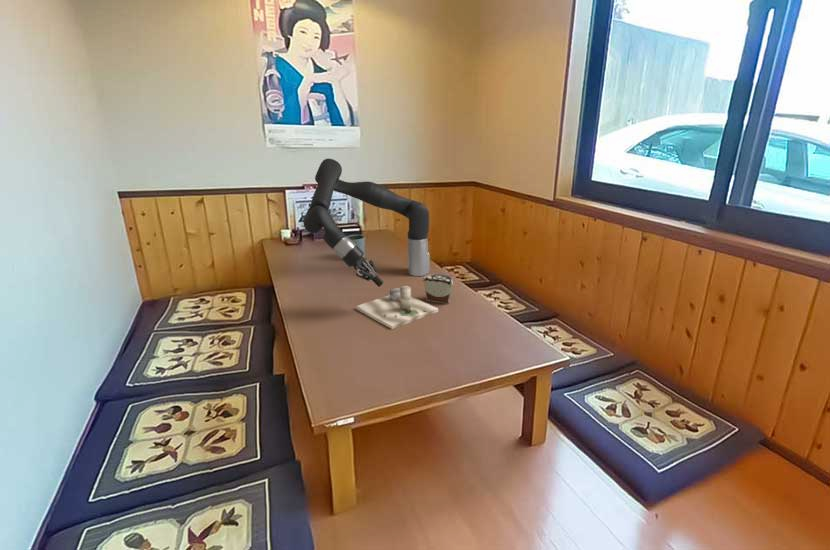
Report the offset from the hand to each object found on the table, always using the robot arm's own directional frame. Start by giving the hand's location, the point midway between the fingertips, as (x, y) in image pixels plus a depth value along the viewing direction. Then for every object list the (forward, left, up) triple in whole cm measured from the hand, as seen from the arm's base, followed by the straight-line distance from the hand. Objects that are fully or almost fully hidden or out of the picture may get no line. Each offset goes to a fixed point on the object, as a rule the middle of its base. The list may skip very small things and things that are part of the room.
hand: (381, 284), depth 164 cm
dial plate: (-4, +3, -11) cm, 12 cm away
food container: (-24, +6, -11) cm, 27 cm away
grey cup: (-28, -62, -11) cm, 69 cm away
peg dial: (-8, +2, -9) cm, 12 cm away
